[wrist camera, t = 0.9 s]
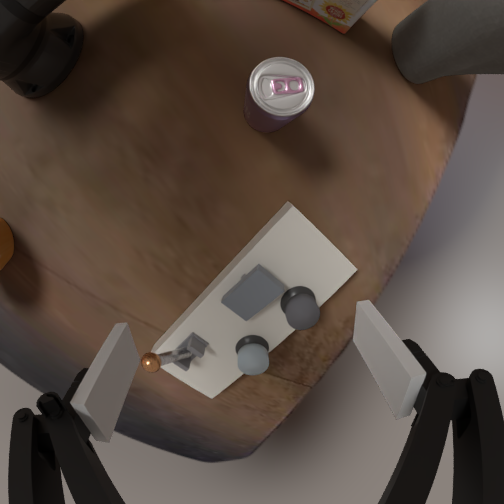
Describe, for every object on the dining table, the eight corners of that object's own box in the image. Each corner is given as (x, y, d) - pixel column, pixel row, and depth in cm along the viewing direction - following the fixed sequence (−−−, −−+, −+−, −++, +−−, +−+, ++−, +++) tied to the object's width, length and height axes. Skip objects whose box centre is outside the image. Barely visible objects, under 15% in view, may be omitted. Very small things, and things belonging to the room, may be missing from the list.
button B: (231, 356, 40) (231, 365, 39) (251, 338, 40) (252, 346, 38) (253, 370, 42) (254, 379, 40) (274, 353, 41) (275, 362, 39)
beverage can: (291, 130, 37) (322, 115, 22) (246, 135, 37) (252, 122, 22) (284, 89, 35) (310, 53, 20) (240, 93, 35) (242, 57, 20)
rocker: (222, 296, 38) (220, 302, 37) (258, 263, 36) (257, 269, 34) (247, 314, 39) (246, 321, 38) (284, 285, 37) (284, 291, 35)
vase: (414, 106, 35) (580, 90, 7) (364, 43, 32) (502, -45, 4) (451, 72, 33) (588, 50, 5) (407, 16, 30) (527, -50, 2)
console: (153, 344, 46) (143, 370, 39) (287, 200, 40) (297, 209, 33) (213, 383, 49) (210, 411, 43) (347, 259, 43) (365, 278, 36)
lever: (179, 348, 41) (133, 361, 32) (189, 339, 41) (143, 350, 32) (189, 362, 41) (145, 378, 32) (200, 353, 40) (155, 367, 31)
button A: (277, 310, 38) (279, 317, 36) (301, 287, 37) (304, 294, 36) (299, 327, 39) (302, 335, 38) (322, 306, 39) (326, 313, 37)
